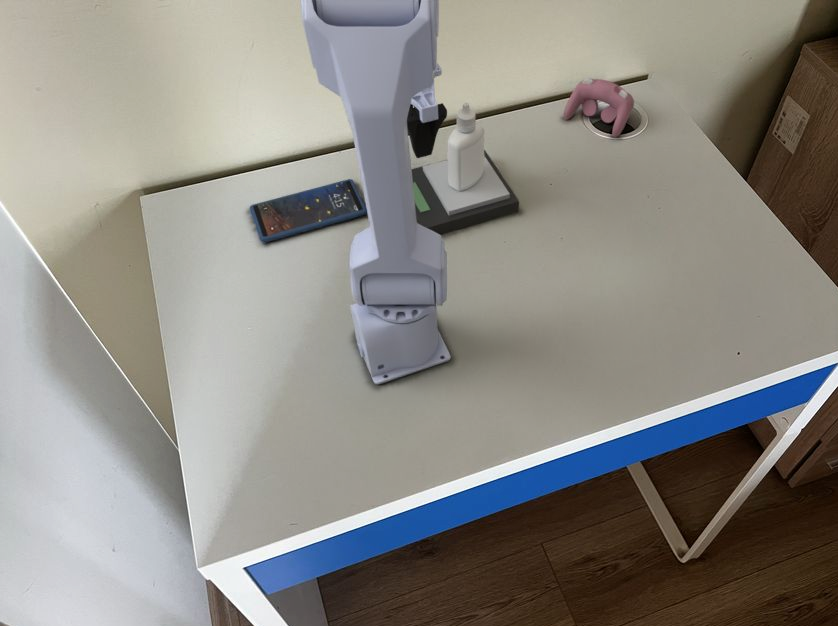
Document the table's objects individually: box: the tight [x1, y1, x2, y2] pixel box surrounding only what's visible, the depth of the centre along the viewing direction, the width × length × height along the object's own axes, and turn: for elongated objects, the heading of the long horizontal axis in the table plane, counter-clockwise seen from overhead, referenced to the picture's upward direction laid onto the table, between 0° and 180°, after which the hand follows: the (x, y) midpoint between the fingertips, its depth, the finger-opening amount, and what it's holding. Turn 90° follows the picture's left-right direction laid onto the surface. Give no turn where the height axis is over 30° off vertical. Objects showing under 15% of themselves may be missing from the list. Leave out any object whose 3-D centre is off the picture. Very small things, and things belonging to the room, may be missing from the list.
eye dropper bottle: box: [447, 102, 485, 191], centre depth 93 cm, size 4×6×12 cm
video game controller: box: [563, 78, 635, 138], centre depth 108 cm, size 10×5×7 cm, turn 58°
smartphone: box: [249, 178, 368, 244], centre depth 97 cm, size 8×1×15 cm
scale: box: [411, 149, 520, 236], centre depth 98 cm, size 14×12×3 cm
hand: (413, 137), depth 91 cm, fingers open, 7 cm apart
